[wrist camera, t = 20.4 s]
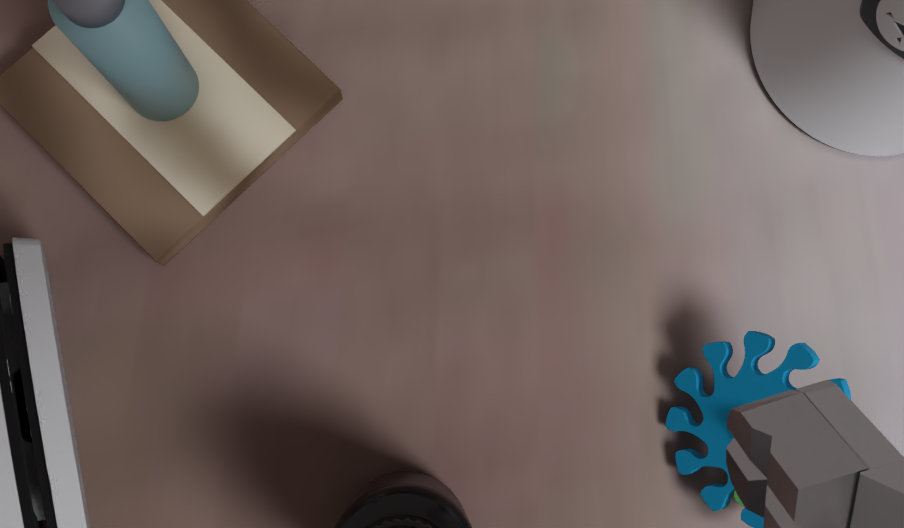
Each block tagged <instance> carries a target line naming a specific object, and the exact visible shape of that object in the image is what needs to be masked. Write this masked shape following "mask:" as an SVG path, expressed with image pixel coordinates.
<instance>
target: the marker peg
mask: <svg viewBox="0 0 904 528" xmlns="http://www.w3.org/2000/svg"><path fill="white" fill-rule="evenodd" d="M48 9H49V13H50V16H51V18H52V20H53V22H54V23H55V25H56V26H57V27H58V28H59V29H60V30H61V31H62V32H63V33H64V35H65V36H66V37H67V38H68V39H69V40H70V41H71V42H72V43H73V44H74V45H75V46H76V47H77V48H78V50H79V51H80V52H81V53H82V54H83V55H84V56H85V57H86V58H87V59H88V60H89V61H90V62H91V64H92V65H93V66H94V67H95V68H96V69H97V70H98V71H99V72H100V73H101V74H102V75H103V76H104V77H105V79H106V80H107V81H108V82H109V83H110V84H111V85H112V86H113V87H114V88H115V89H116V90H117V91H118V92H119V94H120V95H121V96H122V97H123V98H124V99H125V100H126V101H127V102H128V103H129V104H130V105H131V106H132V107H133V109H134V110H135V111H136V112H137V113H139V114H140V115H141V116H143V117H145V118H147V119H149V120H153V121H170V120H173V119H176V118H178V117H180V116H182V115H183V114H185V113H186V112H187V111H188V110H189V109H190V108H191V107H192V106H193V104H194V103H195V101H196V99H197V96H198V92H199V81H198V77H197V74H196V72H195V70H194V69H193V67H192V66H191V64H190V62H189V61H188V59H187V58H186V56H185V55H184V53H183V52H182V50H181V49H180V47H179V46H178V44H177V43H176V41H175V40H174V38H173V37H172V35H171V34H170V32H169V31H168V29H167V28H166V26H165V24H164V23H163V21H162V20H161V18H160V17H159V15H158V14H157V12H156V11H155V9H154V8H153V6H152V5H151V3H150V2H149V0H48Z"/></svg>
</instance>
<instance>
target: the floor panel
mask: <svg viewBox="0 0 904 528" xmlns="http://www.w3.org/2000/svg"><path fill="white" fill-rule="evenodd" d="M149 2H150V3H151V5H152V6H153V8H154V9H155V11H156V12H157V14H158V15H159V17H160V18H161V20H162V21H163V23H164V24H165V26H166V28H167V29H168V31H169V32H170V34H171V35H172V37H173V38H174V40H175V41H176V43H177V44H178V46H179V47H180V49H181V50H182V52H183V53H184V55H185V56H186V58H187V59H188V61H189V62H190V64H191V66H192V67H193V69H194V70H195V72H196V74H197V77H198V81H199V92H198V96H197V99H196V101H195V103H194V104H193V106H192V107H191V108H190V109H189V110H188V111H187V112H186V113H185V114H183V115H182V116H180V117H178V118H176V119H173V120H170V121H153V120H149V119H147V118H145V117H143V116H141V115H140V114H139V113H137V112H136V111H135V110H134V109H133V107H132V106H131V105H130V104H129V103H128V102H127V101H126V100H125V99H124V98H123V97H122V96H121V95H120V94H119V92H118V91H117V90H116V89H115V88H114V87H113V86H112V85H111V84H110V83H109V82H108V81H107V80H106V79H105V77H104V76H103V75H102V74H101V73H100V72H99V71H98V70H97V69H96V68H95V67H94V66H93V65H92V64H91V62H90V61H89V60H88V59H87V58H86V57H85V56H84V55H83V54H82V53H81V52H80V51H79V50H78V48H77V47H76V46H75V45H74V44H73V43H72V42H71V41H70V40H69V39H68V38H67V37H66V36H65V35H64V33H63V32H62V31H61V30H60V29H59V28H58V27H57V26H56V25H55V26H54V27H53V28H52V29H51V30H49V31H48V32H47V33H46V34H45V35H43V36H42V37H41V38H40V39H39V40H38V41H36V42H35V43H34V44H33V45H32V47H33V48H32V49H30V50H29V51H28V52H27V53H26V54H24V55H23V56H22V57H21V58H20V59H19V60H17V61H16V62H15V63H14V64H13V65H11V66H10V67H9V68H8V69H7V70H6V71H4V72H3V73H2V74H1V75H0V105H1V106H2V107H3V108H4V109H5V110H6V111H7V112H8V113H9V114H10V115H11V116H12V117H13V118H14V119H15V120H16V121H17V122H18V123H19V124H20V125H21V126H22V127H23V128H24V129H25V130H26V131H27V132H28V133H29V134H30V135H31V136H32V137H33V138H34V139H35V140H36V141H37V142H38V143H39V144H40V145H41V146H42V147H43V148H44V149H45V150H46V151H47V152H48V153H49V154H50V155H51V156H52V157H53V158H54V159H55V160H56V161H57V162H58V163H59V164H60V165H61V166H62V167H63V168H64V169H65V170H66V171H67V172H68V173H69V174H70V175H71V176H72V177H73V178H74V179H75V180H76V181H77V182H78V183H79V184H80V185H81V186H82V187H83V188H84V189H85V190H86V191H87V192H88V193H89V194H90V195H91V196H92V197H93V198H94V199H95V200H96V201H97V202H98V203H99V204H100V205H101V206H102V207H103V208H104V209H105V210H106V211H107V212H108V213H109V214H110V215H111V216H112V217H113V218H114V219H115V220H116V221H117V222H118V223H119V225H120V226H121V227H122V228H123V229H124V230H125V231H126V232H127V233H128V234H129V235H130V236H131V237H132V238H133V239H134V240H135V241H136V242H137V243H138V244H139V245H140V246H141V247H142V248H143V249H144V250H145V251H146V252H147V253H148V254H149V255H150V256H151V257H152V258H153V259H154V260H155V261H157V262H158V263H160V264H161V265H163V266H164V265H165V264H167V263H168V262H169V261H170V260H171V259H172V258H173V257H174V256H175V255H176V254H177V253H178V252H179V251H180V250H182V249H183V248H184V247H185V246H186V245H187V244H188V243H189V242H190V241H191V240H192V239H193V238H194V237H195V236H197V235H198V234H199V233H200V232H201V231H202V230H203V229H204V228H205V227H206V226H207V225H208V224H209V223H210V222H212V221H213V220H214V219H215V218H216V217H217V216H218V215H219V214H220V213H221V212H222V211H223V210H224V209H225V208H226V207H228V206H229V205H230V204H231V203H232V202H233V201H234V200H235V199H236V198H237V197H238V196H239V195H240V194H241V193H243V192H244V191H245V190H246V189H247V188H248V187H249V186H250V185H251V184H252V183H253V182H254V181H255V180H256V179H258V178H259V177H260V176H261V175H262V174H263V173H264V172H265V171H266V170H267V169H268V168H269V167H270V166H271V165H273V164H274V163H275V162H276V161H277V160H278V159H279V158H280V157H281V156H282V155H283V154H284V153H285V152H286V151H288V150H289V149H290V148H291V147H292V146H293V145H294V144H295V143H296V142H297V141H298V140H299V139H300V138H301V137H303V136H304V135H305V134H306V133H307V132H308V131H309V130H310V129H311V128H312V127H313V126H314V125H315V124H316V123H318V122H319V121H320V120H321V119H322V118H323V117H324V116H325V115H326V114H327V113H328V112H329V111H330V110H331V109H333V108H334V107H335V106H336V105H337V104H338V103H339V102H340V101H341V100H342V95H341V90H340V89H339V88H338V87H337V86H336V85H335V84H334V83H333V82H332V81H331V80H330V79H329V78H328V77H327V76H326V75H325V74H324V73H323V72H322V71H321V70H319V69H318V68H317V67H316V66H315V65H314V64H313V63H312V62H311V61H310V60H309V59H308V58H307V57H306V56H305V55H304V54H303V53H302V52H301V51H299V50H298V49H297V48H296V47H295V46H294V45H293V44H292V43H291V42H290V41H289V40H288V39H287V38H286V37H285V36H284V35H283V34H282V33H281V32H279V31H278V30H277V29H276V28H275V27H274V26H273V25H272V24H271V23H270V22H269V21H268V20H267V19H266V18H265V17H264V16H263V15H262V14H261V13H260V12H258V11H257V10H256V9H255V8H254V7H253V6H252V5H251V4H250V3H249V2H248V1H247V0H149Z"/></svg>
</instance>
